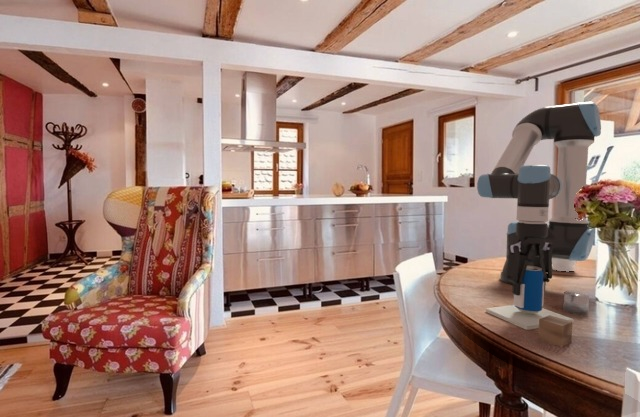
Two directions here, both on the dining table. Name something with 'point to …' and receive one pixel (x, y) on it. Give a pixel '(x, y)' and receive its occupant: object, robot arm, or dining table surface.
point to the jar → (563, 264)
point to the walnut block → (555, 330)
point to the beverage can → (532, 290)
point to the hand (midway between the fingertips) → (528, 305)
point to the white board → (522, 316)
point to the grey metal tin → (576, 302)
